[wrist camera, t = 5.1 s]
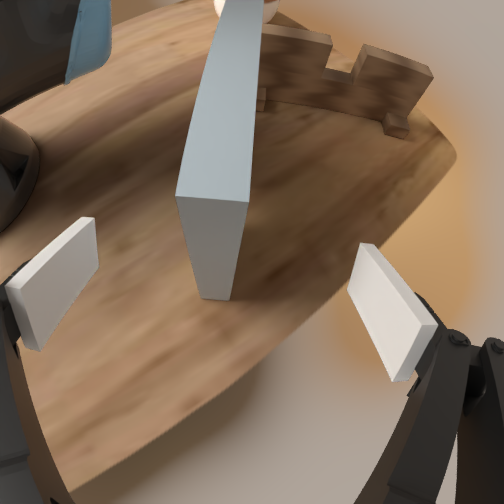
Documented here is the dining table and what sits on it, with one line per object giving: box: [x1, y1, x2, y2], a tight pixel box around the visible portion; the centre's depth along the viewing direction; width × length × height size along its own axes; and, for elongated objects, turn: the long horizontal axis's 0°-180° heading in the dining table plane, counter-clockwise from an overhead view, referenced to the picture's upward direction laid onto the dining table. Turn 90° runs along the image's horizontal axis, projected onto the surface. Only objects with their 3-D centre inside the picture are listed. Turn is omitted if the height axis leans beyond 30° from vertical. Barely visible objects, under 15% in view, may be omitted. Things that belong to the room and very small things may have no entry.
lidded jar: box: [214, 0, 280, 24], centre depth 38 cm, size 11×11×9 cm
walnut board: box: [256, 23, 434, 139], centre depth 32 cm, size 22×7×10 cm, turn 87°
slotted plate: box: [175, 0, 264, 301], centre depth 22 cm, size 18×2×18 cm, turn 177°
